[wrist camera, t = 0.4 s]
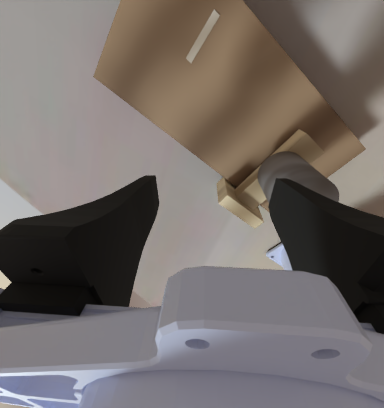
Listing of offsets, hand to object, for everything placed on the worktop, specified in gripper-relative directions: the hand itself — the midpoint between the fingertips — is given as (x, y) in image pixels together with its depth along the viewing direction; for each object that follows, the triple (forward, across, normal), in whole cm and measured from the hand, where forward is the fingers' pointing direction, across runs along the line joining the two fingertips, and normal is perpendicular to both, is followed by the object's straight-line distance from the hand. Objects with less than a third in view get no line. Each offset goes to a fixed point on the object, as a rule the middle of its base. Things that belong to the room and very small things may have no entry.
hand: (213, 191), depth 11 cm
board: (+10, -2, -3) cm, 10 cm away
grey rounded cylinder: (+9, -5, +2) cm, 11 cm away
